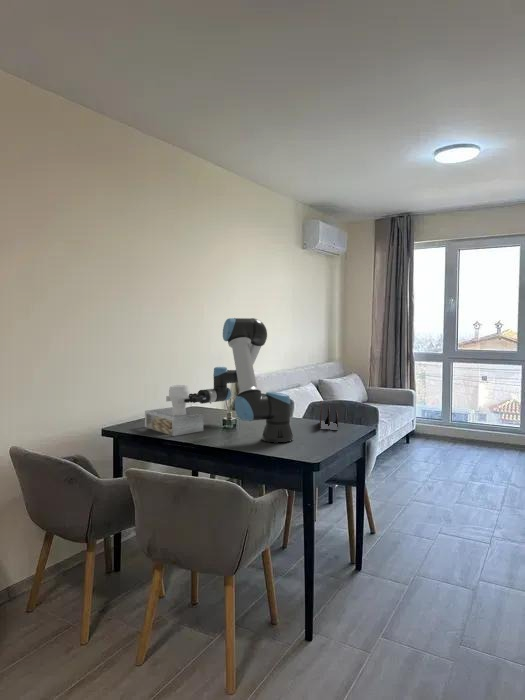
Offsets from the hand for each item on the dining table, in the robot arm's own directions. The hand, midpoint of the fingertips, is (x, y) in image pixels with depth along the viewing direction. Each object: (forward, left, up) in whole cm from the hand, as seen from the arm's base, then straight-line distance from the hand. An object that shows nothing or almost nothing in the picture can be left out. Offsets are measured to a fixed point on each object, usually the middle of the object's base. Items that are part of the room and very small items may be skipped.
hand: (172, 400), depth 262 cm
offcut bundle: (0, +5, -15) cm, 16 cm away
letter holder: (-58, -63, -17) cm, 87 cm away
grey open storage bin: (-1, 0, -17) cm, 17 cm away
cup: (-1, -4, -8) cm, 9 cm away
